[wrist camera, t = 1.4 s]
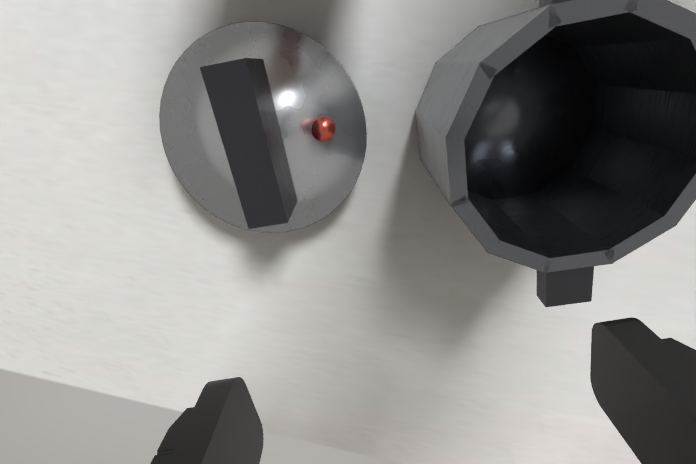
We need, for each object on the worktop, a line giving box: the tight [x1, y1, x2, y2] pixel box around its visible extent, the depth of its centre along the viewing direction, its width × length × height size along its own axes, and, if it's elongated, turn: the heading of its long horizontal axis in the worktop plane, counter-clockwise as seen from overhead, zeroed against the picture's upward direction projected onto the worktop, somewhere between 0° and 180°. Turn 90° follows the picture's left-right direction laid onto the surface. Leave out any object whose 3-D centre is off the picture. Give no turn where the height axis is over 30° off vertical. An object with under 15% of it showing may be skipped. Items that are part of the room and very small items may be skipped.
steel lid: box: [160, 22, 367, 233], centre depth 24 cm, size 13×13×6 cm
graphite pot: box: [415, 0, 696, 307], centre depth 22 cm, size 17×12×10 cm
